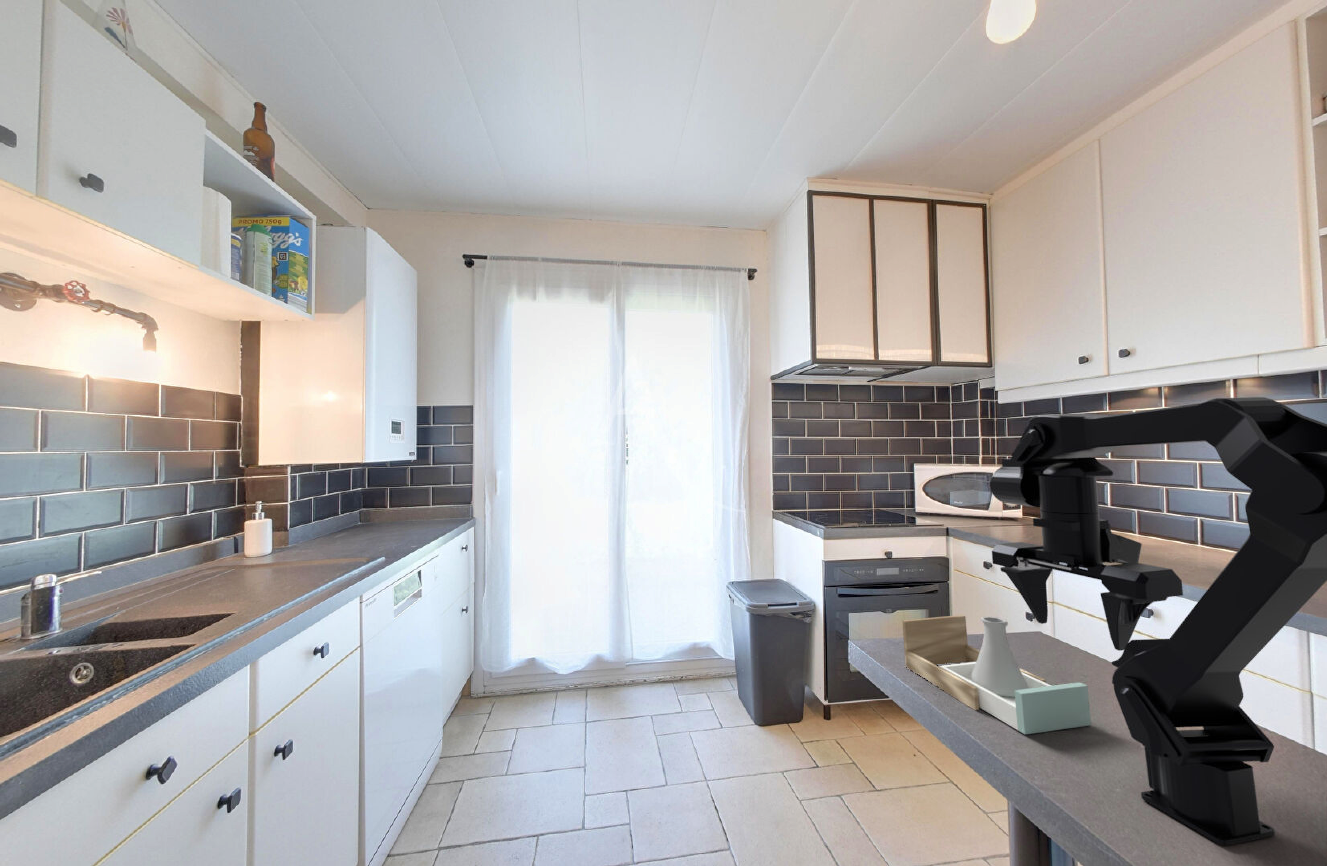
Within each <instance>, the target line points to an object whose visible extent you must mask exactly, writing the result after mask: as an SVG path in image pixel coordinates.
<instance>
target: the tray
mask: <svg viewBox="0 0 1327 866" xmlns="http://www.w3.org/2000/svg"><path fill="white" fill-rule="evenodd" d="M975 664H976V662H969V663H960V664H951V665H942V666H938V667H940V668H942V669H944V670H945V671H947V672H949V673H951V674H953V675H955V676H956V677H958V678H960V679H962V680H964V681H965V682H967V683H969V684H971V685H973V686H975V687H976V688H977V689H978V701H979V709H982V710H983V711H985V712H987V713H988V714H990V715H992V716H994V717H995V718H996V719H998V720H1000V721H1001V722H1003V723H1005V724H1007V725H1008V726H1010V727H1011V728H1014V729H1016V730H1017V731H1018V732H1019V733H1022V734H1023V735H1031V734H1037V733H1038V734H1039V733H1045V732H1051V731H1059V730H1065V729H1073V728H1080V727H1081V728H1082V727H1087V726H1091V725H1092V717H1091V710H1090V699H1089V688H1088V685H1087V684H1085V683H1081V682H1080V681H1079V682H1071V683H1064V684H1056V685H1050V684H1048V683H1047V682H1046V681H1045V682H1042V681H1040V680H1038V679H1036V678H1034V677H1031V676H1029V675H1027V674H1025V673H1023V672H1021V673H1022V675H1023V677H1024V679H1025V681H1026V683H1027V685H1028V687H1029V689H1022V690H1014V692H1015V697H1010V696H1001V695H996V694H994V693H992V692H991V691H989V690H987V689H985V688H983V687H981V686H979V685H978V684H976V683H974V682H972V680H971V678H970V677H971V675H972V672H973V669H974V667H975Z"/></svg>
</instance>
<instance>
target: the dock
mask: <svg viewBox="0 0 1327 866" xmlns="http://www.w3.org/2000/svg"><path fill="white" fill-rule="evenodd" d="M966 619H967V617H966V615H965V614H958V615H949V616H936V617H926V618H915V619H905V620H904V619H903V620H902V621H901V623H902V632H903V633H902V635H903V649H904V662H905V663H904V664H905V668H906V667H908V668H909V669H910V670H912V671H914V672H915V673H916V674H915V673H914V674H915V675H917V674H919V675H920V676H922V677H923V678H926V679H927V680H928V681H930V682H932V683H933V684H934V685H933V684H932V685H933V686H935V685H936V686H938V687H939V688H938V687H937V688H938V689H940V690H941V689H942V690H941V691H943V690H944V691H943V692H944V693H946V694H948V695H949V694H950V696H951V697H952V698H954V699H957V700H958V701H960V702H961V703H963V704H964V705H966V706H968V707H969V708H970V709H973V710H974V711H980V707H979V701H978V689H977V688H976V687H975V686H973V685H971V684H969V683H967V682H965V681H964V680H962V679H960V678H958V677H956V676H955V675H953V674H951V673H949V672H947V671H945V670H944V669H942V668H940V667H939V666H936V665H937V664H945V663H946V664H947V663H961V662H967V663H969V662H976V661H977V659H978V656H979V653H980V650H981V649H978V648H975V647H973V646H971V645H969V644H968V633H967V632H968V629H967V620H966ZM1019 669H1020V671H1021V672H1023V673H1025V674H1027V675H1029V676H1031V677H1034V678H1036V679H1038V680H1040V681H1042V682H1045V683H1046V679H1045V678H1042V677H1040V676H1038V675H1035V674H1033V673H1031V672H1029V671H1026V670H1025V669H1023V668H1020V667H1019ZM910 670H909V671H910ZM912 671H911V672H912ZM920 676H919V677H920ZM922 677H921V678H922ZM923 678H922V679H923ZM928 681H927V682H928ZM930 682H929V683H930ZM936 686H935V687H936Z"/></svg>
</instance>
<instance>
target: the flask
mask: <svg viewBox="0 0 1327 866" xmlns="http://www.w3.org/2000/svg"><path fill="white" fill-rule="evenodd" d="M980 620H981V622H982V623H983V628H984V629H983V631H984V633H983V640H982V644H981V647H980V649H979V650H980V653H979V656H978V659H977V661H976V664H975V667H974V669H973V672H972V675H971V677H970V678H971V680H972V682H974V683H976V684H978V685H979V686H981V687H983V688H985V689H987V690H989V691H991V692H992V693H994V694H996V695H1001V696H1010V697H1015V692H1014V690H1022V689H1029V687H1028V685H1027V683H1026V681H1025V679H1024V677H1023V675H1022V673H1021V671H1020V669H1021V668H1020V667H1019V665H1018V663H1017V661H1016V659H1015V656H1014V654H1013V651H1012V649H1011V647H1010V644H1009V643H1010V642H1009V640H1008V636H1007V627H1008V625H1009V623H1008V621H1007V620H1006V619H1004V618H1001V617H997V616H982V617H980ZM1019 668H1020V669H1019Z"/></svg>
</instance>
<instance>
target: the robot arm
mask: <svg viewBox="0 0 1327 866" xmlns="http://www.w3.org/2000/svg"><path fill="white" fill-rule="evenodd" d="M1017 443H1018V444H1017V446H1016V447H1015V449H1014V450H1013V452H1012V453H1011V457H1010V458H1002V459H1001V467H999V468H997V470H995V471H994V473H993V474H992V476H991V479H990V481H989V488H990V492H991V493H992V495H993V496H994V498H995V499H997V501H999V502H1002V503H1003V504H1008V505H1009V504H1010V505H1017V506H1024V507H1031V508H1032V507H1033V508H1039V509H1040V517H1033V518H1032V521H1033V522H1032V524H1033V526H1034V527H1038V528H1041V536H1042V545H1040V544H1039V545H1038V544H1033V543H1029V542H1022V541H1020V542H1019V541H1018V542H1007V543H996V544H995V546H994V547H993V548H992V550H991V559H992V564H993V565H997V566H1001V567H999V568H1000V571H1001V572H1003V573H1005V575H1007V577H1008V578H1009V580H1010V581H1011V583H1012V584H1013V586H1014V587H1015V588H1016V589H1017V592H1019V595H1020V596H1021V597H1022V599H1023V600H1024V601H1025V603H1026V605H1027V607H1028V608H1029V610H1030V612H1031V613H1032V615H1033V617H1034V618H1035V620H1036V621H1037V623H1039V624H1042V625H1043V624H1046V623H1048V617H1049V616H1048V615H1049V610H1048V609H1049V608H1048V594H1047V592H1048V591H1047V581H1048V579H1049V577H1050V575H1051V573H1052V571H1053V570H1054V571H1058V572H1064V573H1069V574H1072V575H1077V576H1081V577H1085V578H1089V579H1090V578H1091V579H1094V580H1098V581H1099V580H1100V581H1101V585H1103V587H1104V588H1106V590H1108V591H1107V592H1100V597H1101V603H1102V606H1103V610H1104V615H1105V618H1106V624H1107V628H1108V632H1109V637H1110V639H1111V641H1112V645H1113V647H1114V649H1115V650H1116V651H1118V652H1119V651H1123V652H1122V654H1121V656H1120V657H1119V658H1118V659H1116V660H1113V661H1111V664H1112V666H1114V667H1115V668H1116V669H1115V670H1114V671H1113V674H1112V678H1111V683H1112V685H1113V691H1114V695H1115V697H1116V700H1117V702H1118V706H1119V708H1120V710H1121V712H1122V713H1121V714H1122V715H1123V718H1124V720H1125V723H1126V726H1127V729H1128V731H1129V734H1130V736H1131V738H1132V739H1133V740H1135V741H1136V742H1138V743H1140V744H1141V745H1142V746H1143V747H1144V755H1145V765H1146V774H1147V782H1148V783H1147V784H1148V787H1149V788H1150V789H1152V790H1147V791H1142V792H1140V797H1141V799H1142V800H1143V801H1145V802H1147V803H1148V804H1150V805H1152V806H1153V807H1155V808H1157V810H1160V811H1162V812H1164V813H1165V814H1167V815H1169V816H1170V817H1171V818H1174V819H1176V820H1177V821H1179V822H1180V823H1182V824H1184V825H1185V826H1188V827H1189V828H1191V829H1193V830H1194V831H1196V832H1197V833H1199V834H1200V835H1203V836H1204V837H1206V838H1208V839H1210V840H1211V841H1213V842H1215V843H1216V844H1219V845H1222V846H1229V845H1230V846H1231V845H1234V844H1239V843H1246V842H1250V841H1254V840H1259V839H1263V838H1268V837H1269V838H1270V837H1274V836H1276V831H1275V828H1273V827H1272V826H1270V825H1269V824H1267V823H1265V822H1263V821H1261V820H1260V814H1259V807H1258V799H1257V791H1256V784H1255V783H1256V782H1255V775H1254V767H1253V766H1252V765H1250V764H1248V762H1251V763H1252V762H1259V763H1268V762H1270V759H1271V756H1272V754H1273V752H1274V749H1275V745H1274V743H1273V742H1272V741H1271V740H1270V739H1269V737H1267V735H1266V734H1265V733H1264V732H1263V731H1262V730H1261V728H1259V727H1258V725H1257V724H1256V723H1255V722H1254V721H1253V720H1252V719H1251V717H1250V716H1249V715H1248V714H1247V713H1246V712H1245V711H1244V710H1243V708H1242V707H1241V706H1240V705H1241V703H1242V701H1243V699H1244V690H1243V686H1242V683H1241V678H1240V674H1241V673H1242V671H1244V669H1245V668H1246V667H1247V666H1248V665H1249V663H1251V662H1252V661H1253V660H1254V658H1256V656H1257V655H1258V654H1259V653H1260V652H1261V651H1263V649H1264V648H1265V647H1266V646H1267V644H1268V643H1270V642H1271V640H1273V638H1274V637H1275V636H1276V635H1277V634H1278V633H1279V632H1280V631H1281V630H1282V629H1283V628H1284V627H1285V626H1286V625H1287V623H1289V621H1290V620H1291V619H1292V618H1293V617H1294V616H1295V615H1296V614H1297V613H1298V612H1299V611H1300V610H1301V609H1302V608H1303V607H1304V606H1305V605H1306V603H1308V602H1309V601H1310V599H1311V598H1312V597H1313V596H1314V595H1315V594H1316V593H1317V592H1318V591H1319V590H1320V589H1321V587H1322V586H1323V585H1324V584H1326V582H1327V423H1325V422H1321V421H1319V420H1316V419H1314V418H1312V417H1308V416H1306V415H1303V414H1301V413H1300V412H1298V411H1296V410H1294V409H1292V408H1291V407H1289V406H1287V405H1285V404H1284V403H1281V402H1279V401H1277V400H1274V399H1272V398H1268V397H1265V396H1264V397H1263V396H1259V397H1258V396H1249V397H1246V396H1245V397H1222V398H1221V397H1216V398H1212V399H1209V400H1207V401H1204V402H1200V403H1191V404H1185V405H1178V406H1177V405H1176V406H1169V407H1162V408H1161V407H1160V408H1154V409H1153V408H1152V409H1147V410H1145V409H1144V410H1139V411H1131V412H1124V413H1117V414H1115V413H1114V414H1102V413H1101V414H1100V413H1099V414H1098V413H1068V414H1067V413H1066V414H1063V413H1061V414H1060V413H1057V414H1038V415H1036V416H1035V415H1034V416H1033V417H1031V418H1030V419H1029V424H1028V425H1027V426H1026V428H1024V431H1023V433H1022V435H1021V437H1020V439H1019V441H1018V442H1017ZM1188 443H1189V444H1191V443H1207V444H1209V445H1211V446H1212V447H1213V448H1214V449H1215V450H1216V453H1217V454H1218V457H1219V459H1220V460H1221V463H1222V464H1223V466H1224V468H1225V470H1226V471H1227V472H1228V473H1229V474H1230V475H1231V476H1232V477H1234V478H1235V479H1237V480H1238V481H1240V483H1242V484H1244V485H1245V486H1246V487H1247V488H1249V489H1250V493H1249V495H1248V498H1247V499H1246V502H1245V505H1244V506H1245V507H1244V509H1245V514H1246V520H1247V525H1248V528H1249V534H1248V537H1247V538H1246V539H1245V541H1244V543H1243V544H1242V545H1241V546H1240V547H1239V549H1238V550H1237V551H1236V553H1235V554H1234V555H1233V557H1231V559H1230V560H1229V562H1228V563H1227V564H1226V565H1225V567H1224V568H1223V569H1222V570H1221V572H1220V573H1219V574H1218V576H1217V577H1216V578H1215V580H1214V581H1213V582H1212V583H1211V585H1210V586H1209V587H1208V589H1207V590H1205V592H1204V594H1203V595H1202V596H1201V598H1199V600H1198V601H1197V603H1196V604H1195V605H1194V607H1192V609H1191V610H1190V611H1189V613H1188V614H1187V616H1186V617H1185V618H1184V620H1183V621H1182V622H1181V623H1180V624H1179V626H1178V627H1177V628H1176V630H1175V631H1174V632H1173V634H1172V635H1171V636H1170V637H1169V638H1149V639H1148V638H1147V639H1131V638H1132V636H1133V634H1134V631H1135V629H1136V627H1137V624H1138V622H1139V620H1140V618H1141V617H1142V615H1143V613H1144V612H1145V610H1146V609H1148V608H1149V606H1150V605H1152V604H1153V603H1155V602H1165V601H1167V599H1168V598H1170V597H1171V598H1173V597H1181V596H1184V592H1183V591H1184V590H1183V582H1182V579H1181V578H1180V576H1179V575H1178V574H1177V573H1176V572H1175V571H1174V570H1173V569H1172V568H1167V567H1162V566H1155V565H1151V564H1145V563H1141V562H1139V560H1140V555H1141V551H1142V550H1141V549H1142V546H1143V544H1142V542H1139V541H1136V540H1134V539H1131V538H1128V537H1125V536H1123V535H1119V534H1116V533H1113V532H1112V530H1111V524H1110V523H1109V520H1107V519H1100V518H1101V517H1100V508H1099V496H1098V483H1097V477H1098V478H1099V477H1100V478H1101V477H1102V478H1103V477H1112V476H1113V475H1114V471H1113V470H1112V469H1111V468H1109V467H1108V466H1106V465H1104V464H1102V463H1101V462H1100V461H1098V459H1097V458H1096V457H1097V456H1102V455H1106V454H1110V453H1113V452H1114V451H1116V450H1118V449H1122V448H1126V447H1138V446H1139V447H1140V446H1142V447H1143V446H1154V445H1156V446H1157V445H1172V444H1174V445H1175V444H1188ZM1104 563H1107V564H1104ZM1115 563H1117V564H1115ZM1108 564H1110V565H1108ZM1199 727H1201V728H1202V729H1179V730H1178V729H1177V728H1199ZM1246 762H1247V763H1246Z"/></svg>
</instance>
